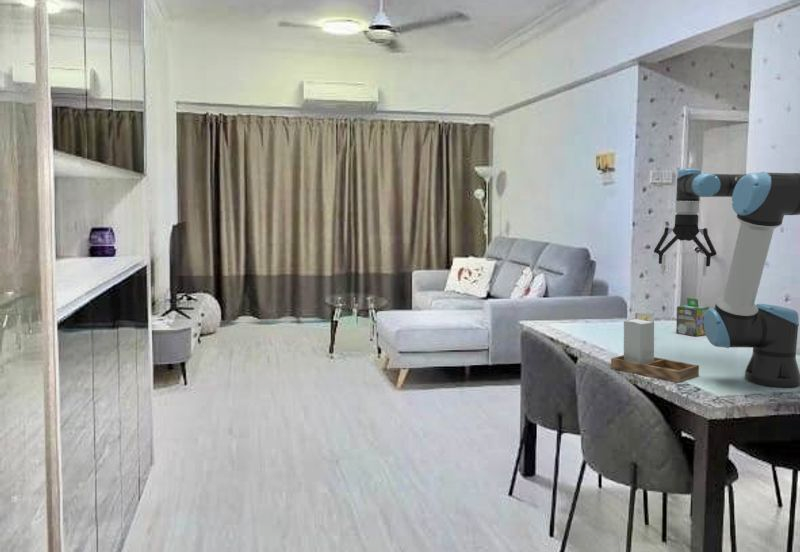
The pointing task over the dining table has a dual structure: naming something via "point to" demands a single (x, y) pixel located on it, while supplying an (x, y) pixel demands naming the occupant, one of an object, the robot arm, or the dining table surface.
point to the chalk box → (691, 319)
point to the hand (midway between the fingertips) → (683, 274)
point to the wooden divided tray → (658, 368)
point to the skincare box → (639, 341)
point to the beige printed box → (645, 316)
